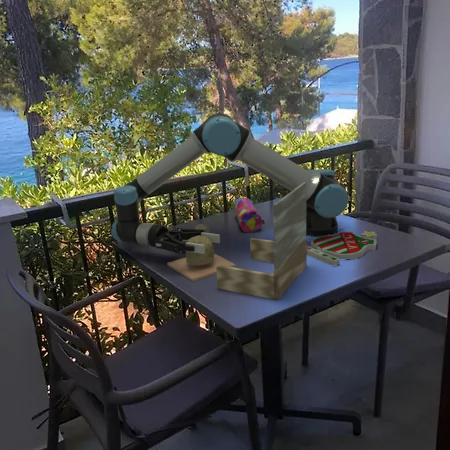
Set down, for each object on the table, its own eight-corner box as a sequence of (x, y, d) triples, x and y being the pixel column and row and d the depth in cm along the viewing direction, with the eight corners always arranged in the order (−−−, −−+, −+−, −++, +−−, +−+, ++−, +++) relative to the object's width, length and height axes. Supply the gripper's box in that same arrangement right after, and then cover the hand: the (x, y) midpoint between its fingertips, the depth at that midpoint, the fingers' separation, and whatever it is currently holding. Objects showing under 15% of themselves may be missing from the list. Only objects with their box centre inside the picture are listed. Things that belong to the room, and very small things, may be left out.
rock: (182, 251, 169) (209, 246, 167) (178, 234, 167) (205, 230, 165) (187, 241, 179) (213, 236, 177) (183, 225, 177) (209, 221, 176)
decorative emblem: (294, 244, 161) (354, 225, 177) (294, 250, 162) (354, 231, 178) (334, 261, 146) (396, 238, 162) (334, 268, 147) (396, 245, 163)
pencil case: (265, 232, 180) (265, 209, 177) (241, 234, 179) (240, 212, 176) (254, 215, 200) (253, 195, 197) (232, 217, 199) (231, 196, 196)
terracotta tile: (208, 252, 163) (208, 250, 163) (235, 267, 150) (235, 264, 150) (167, 265, 154) (167, 262, 154) (193, 281, 142) (192, 279, 142)
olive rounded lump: (214, 274, 149) (225, 245, 150) (189, 264, 144) (201, 234, 144) (199, 267, 157) (210, 239, 158) (174, 257, 151) (186, 229, 152)
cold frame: (217, 288, 137) (212, 198, 128) (252, 257, 157) (249, 178, 148) (278, 300, 128) (276, 205, 120) (306, 266, 149) (307, 182, 140)
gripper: (171, 235, 168) (228, 243, 158) (134, 257, 150) (195, 268, 140) (170, 215, 166) (227, 222, 156) (131, 235, 148) (193, 244, 138)
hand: (212, 244), depth 148 cm, fingers closed on olive rounded lump, 9 cm apart
